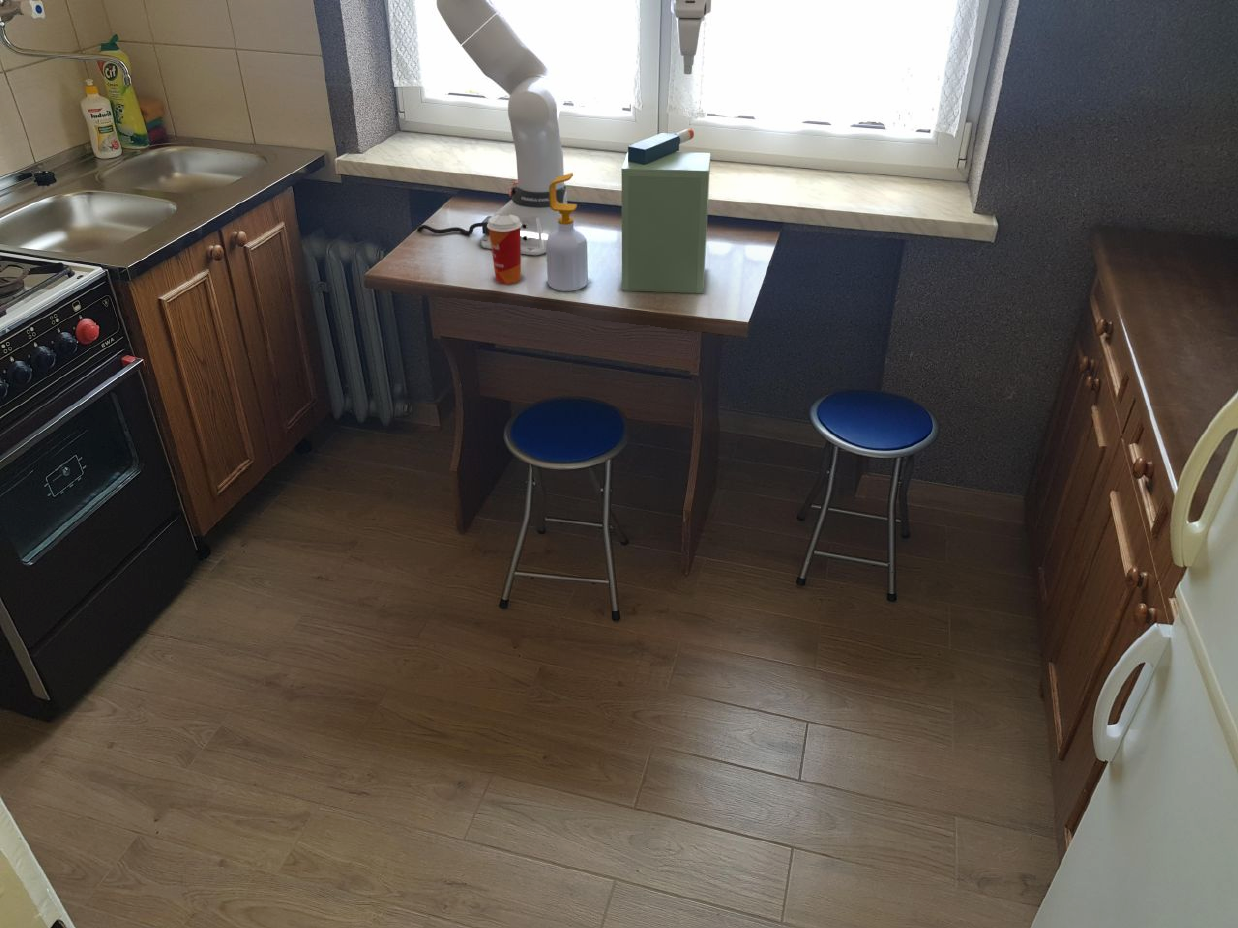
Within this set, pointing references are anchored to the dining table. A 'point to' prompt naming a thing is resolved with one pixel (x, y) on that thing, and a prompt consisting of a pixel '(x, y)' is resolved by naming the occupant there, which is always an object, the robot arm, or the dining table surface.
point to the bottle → (657, 146)
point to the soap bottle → (566, 247)
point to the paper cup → (506, 247)
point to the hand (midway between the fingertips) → (688, 69)
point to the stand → (665, 223)
